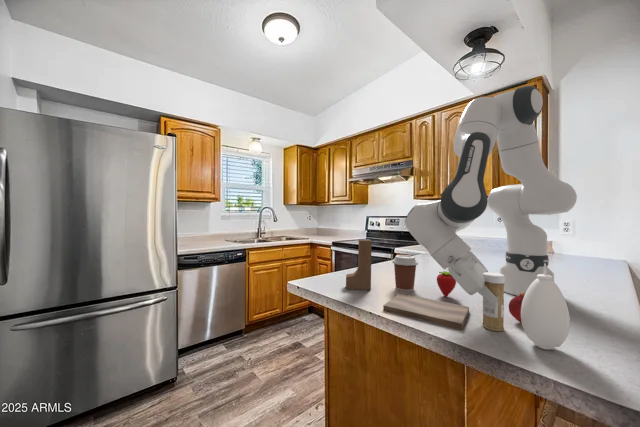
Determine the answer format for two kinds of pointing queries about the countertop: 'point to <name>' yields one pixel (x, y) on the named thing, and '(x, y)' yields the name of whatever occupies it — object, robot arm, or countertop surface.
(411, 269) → the coffee cup
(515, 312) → the onion
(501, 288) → the sprinkles bottle
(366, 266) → the wooden block
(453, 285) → the strawberry
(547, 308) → the sauce bottle
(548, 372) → the countertop surface
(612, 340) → the countertop surface
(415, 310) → the walnut board
